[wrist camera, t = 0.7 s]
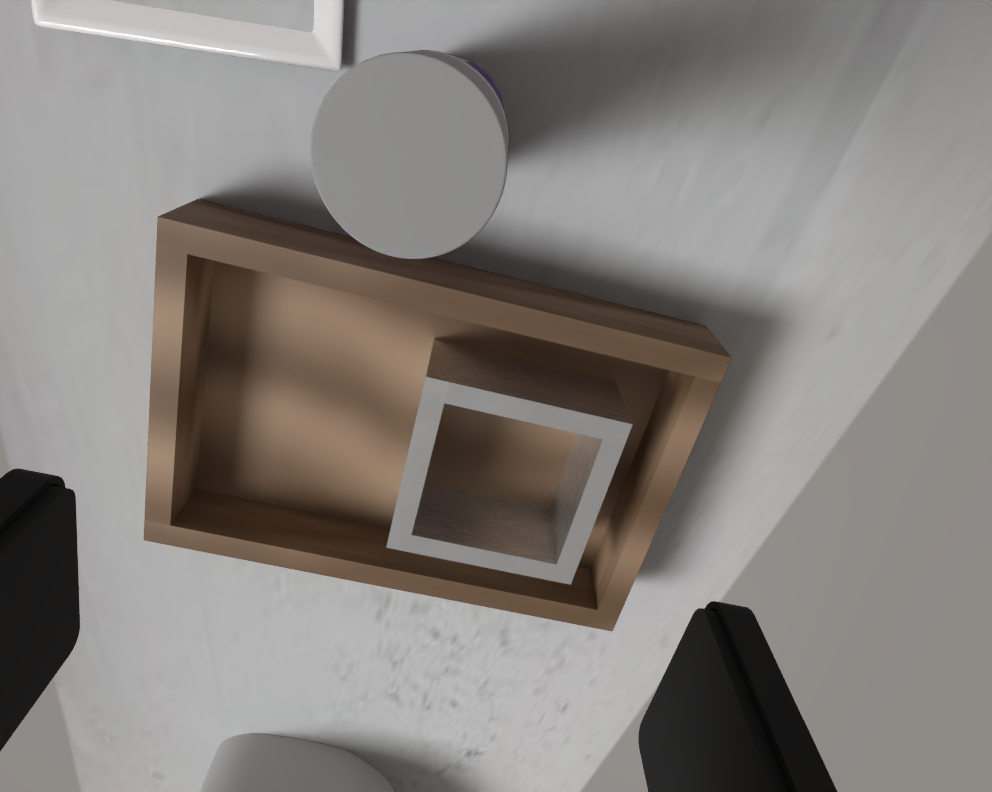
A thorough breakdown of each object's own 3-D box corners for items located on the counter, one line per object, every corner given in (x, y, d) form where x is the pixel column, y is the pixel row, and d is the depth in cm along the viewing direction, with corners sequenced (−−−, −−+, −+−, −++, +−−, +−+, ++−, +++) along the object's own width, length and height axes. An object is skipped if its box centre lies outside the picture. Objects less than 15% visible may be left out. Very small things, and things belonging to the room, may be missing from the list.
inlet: (434, 337, 32) (426, 376, 28) (615, 380, 33) (632, 424, 29) (398, 493, 36) (386, 547, 32) (562, 528, 37) (570, 584, 33)
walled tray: (197, 199, 30) (158, 217, 27) (705, 326, 33) (731, 357, 29) (177, 494, 37) (143, 540, 33) (601, 580, 40) (612, 631, 36)
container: (511, 166, 30) (525, 249, 16) (405, 183, 30) (333, 278, 17) (495, 46, 28) (496, 27, 14) (382, 65, 28) (278, 64, 15)
